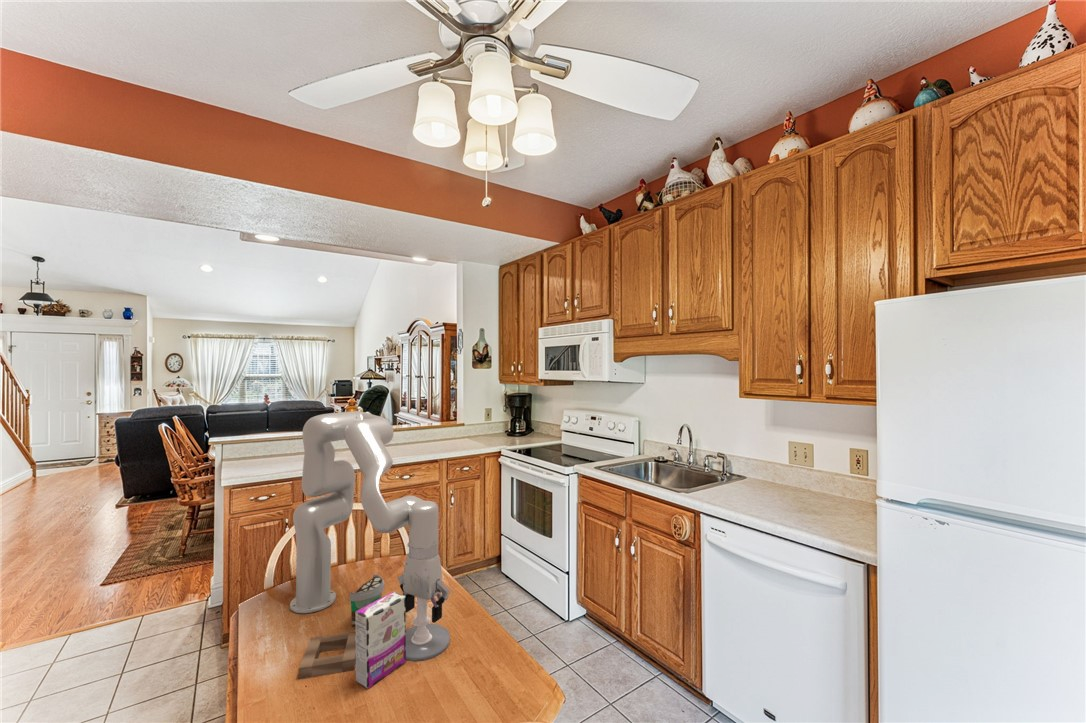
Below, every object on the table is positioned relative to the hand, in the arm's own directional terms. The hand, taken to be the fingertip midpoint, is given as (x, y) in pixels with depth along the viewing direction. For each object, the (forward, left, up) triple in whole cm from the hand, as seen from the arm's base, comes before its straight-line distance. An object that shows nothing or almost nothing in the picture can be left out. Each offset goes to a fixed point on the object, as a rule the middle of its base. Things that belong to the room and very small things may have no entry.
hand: (422, 614), depth 117 cm
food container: (-16, -14, -8) cm, 23 cm away
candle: (0, 0, -6) cm, 7 cm away
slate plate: (0, 0, -7) cm, 7 cm away
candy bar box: (+8, -10, -8) cm, 15 cm away
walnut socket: (0, -22, -7) cm, 23 cm away
